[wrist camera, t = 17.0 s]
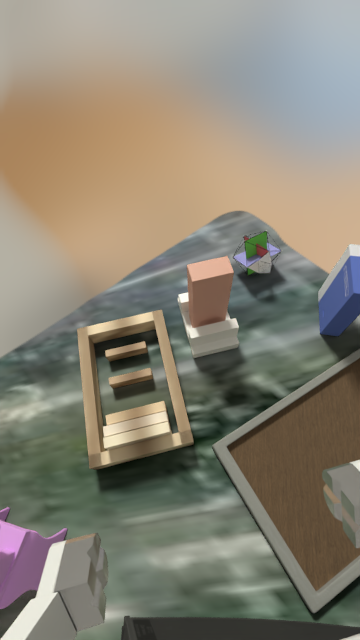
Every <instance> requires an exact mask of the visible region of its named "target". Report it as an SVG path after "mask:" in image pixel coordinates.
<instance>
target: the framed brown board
mask: <svg viewBox="0 0 360 640" xmlns="http://www.w3.org/2000/svg"><path fill="white" fill-rule="evenodd" d="M212 448H213V450H214V452H215V453H216V455H217V457H218V459H219V460H220V462H221V464H222V465H223V467H224V469H225V470H226V472H227V474H228V475H229V477H230V479H231V480H232V482H233V484H234V485H235V487H236V489H237V490H238V492H239V494H240V495H241V497H242V499H243V500H244V502H245V504H246V505H247V507H248V509H249V510H250V512H251V514H252V515H253V517H254V519H255V520H256V522H257V524H258V525H259V527H260V529H261V530H262V532H263V534H264V535H265V537H266V539H267V540H268V542H269V544H270V546H271V547H272V549H273V551H274V552H275V554H276V556H277V557H278V559H279V561H280V562H281V564H282V566H283V567H284V569H285V571H286V572H287V574H288V576H289V577H290V579H291V581H292V582H293V584H294V586H295V587H296V589H297V591H298V592H299V594H300V596H301V597H302V599H303V601H304V602H305V604H306V606H307V607H308V609H309V610H310V611H311V612H312V613H313V614H315V613H316V612H318V611H319V610H320V609H321V608H322V607H324V606H325V605H326V604H327V603H328V602H329V601H331V600H332V599H333V598H334V597H335V596H336V595H338V594H339V593H340V592H341V591H342V590H344V589H345V588H346V587H347V586H348V585H349V584H351V583H352V582H353V581H354V580H355V579H356V578H358V577H359V576H360V548H355V546H354V545H353V543H352V542H351V541H350V539H349V538H348V536H347V535H346V533H345V532H344V530H343V523H342V521H340V520H338V519H336V518H335V517H334V516H333V514H332V513H331V511H330V509H329V508H328V506H327V503H326V501H325V498H324V492H323V488H324V486H325V484H326V483H325V482H324V480H323V479H322V472H323V470H325V469H328V468H332V467H335V466H339V465H342V464H346V463H350V462H353V461H357V460H360V349H358V350H357V351H355V352H354V353H352V354H351V355H349V356H348V357H346V358H344V359H343V360H341V361H340V362H338V363H337V364H335V365H334V366H332V367H331V368H329V369H328V370H326V371H325V372H323V373H322V374H320V375H319V376H317V377H316V378H314V379H312V380H311V381H309V382H308V383H306V384H305V385H303V386H302V387H300V388H299V389H297V390H296V391H294V392H293V393H291V394H290V395H288V396H287V397H285V398H284V399H282V400H280V401H279V402H277V403H276V404H274V405H273V406H271V407H270V408H268V409H267V410H265V411H264V412H262V413H261V414H259V415H258V416H256V417H255V418H253V419H252V420H250V421H248V422H247V423H245V424H244V425H242V426H241V427H239V428H238V429H236V430H235V431H233V432H232V433H230V434H229V435H227V436H226V437H224V438H223V439H221V440H220V441H218V442H217V443H215V444H214V445H213V446H212Z"/></svg>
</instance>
